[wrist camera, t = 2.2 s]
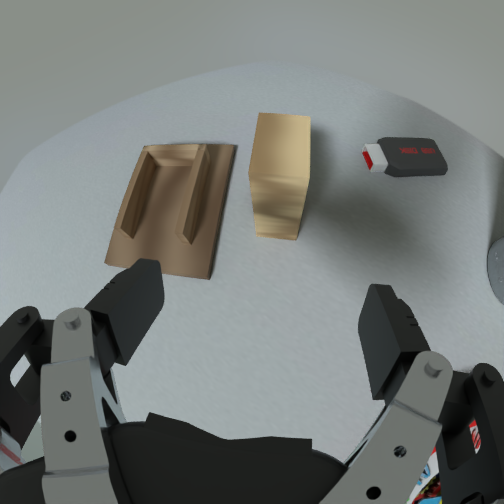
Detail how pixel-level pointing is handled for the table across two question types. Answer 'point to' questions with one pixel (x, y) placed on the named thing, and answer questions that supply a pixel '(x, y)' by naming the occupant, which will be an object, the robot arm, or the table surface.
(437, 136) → the table surface
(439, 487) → the toy clock
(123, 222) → the groove board
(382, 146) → the usb drive
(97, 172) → the table surface
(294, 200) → the oak plank
